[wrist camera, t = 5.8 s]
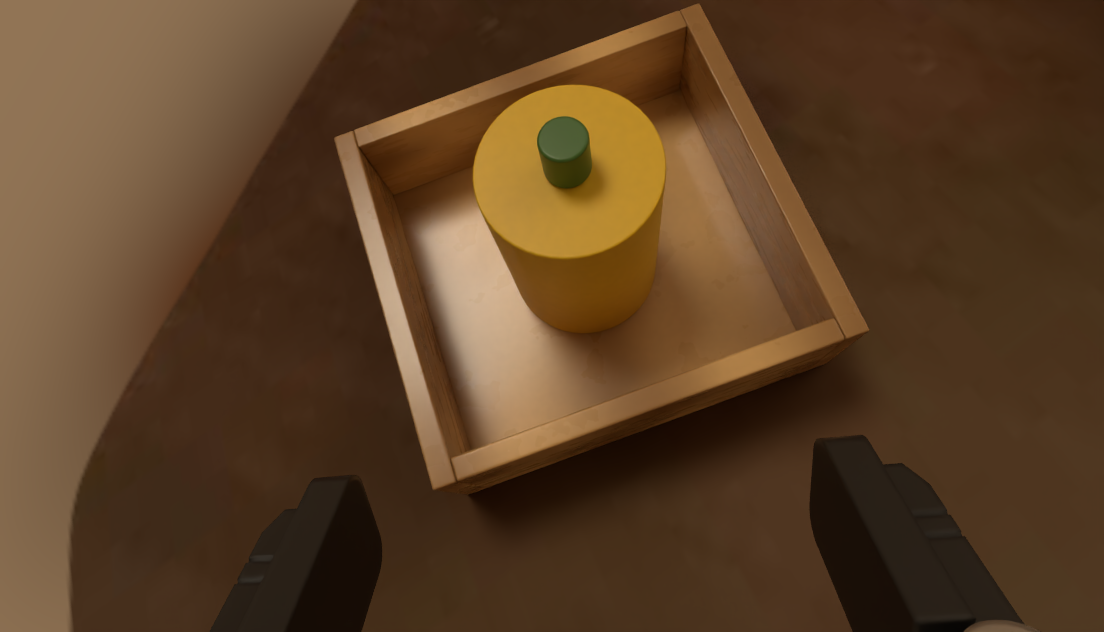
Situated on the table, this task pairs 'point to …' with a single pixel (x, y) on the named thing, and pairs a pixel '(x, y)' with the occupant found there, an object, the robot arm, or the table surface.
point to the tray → (662, 320)
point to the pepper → (574, 203)
